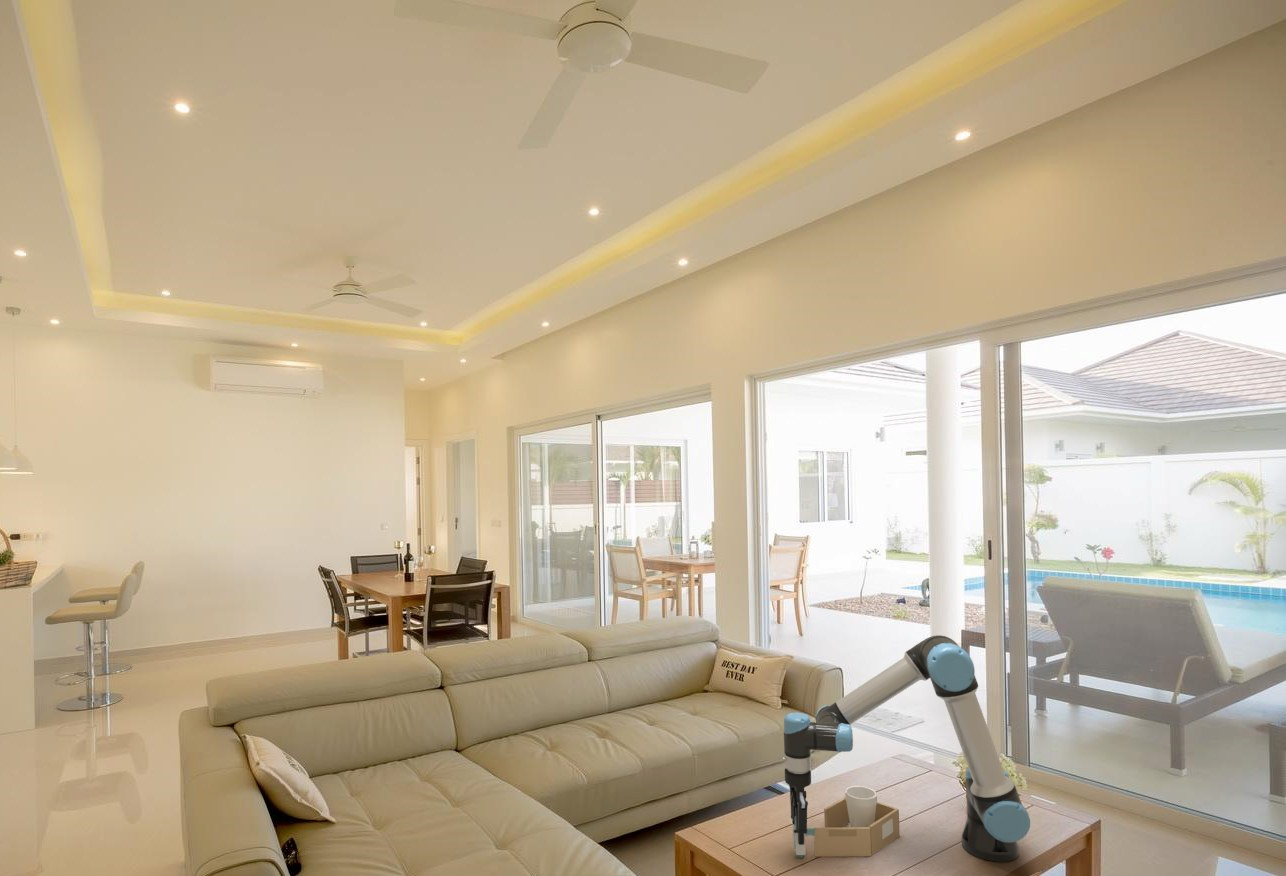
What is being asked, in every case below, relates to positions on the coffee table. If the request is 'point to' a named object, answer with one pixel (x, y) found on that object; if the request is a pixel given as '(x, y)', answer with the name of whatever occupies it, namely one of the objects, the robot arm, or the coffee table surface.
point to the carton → (880, 830)
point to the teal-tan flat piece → (840, 841)
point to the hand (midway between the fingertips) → (799, 851)
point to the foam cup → (861, 805)
